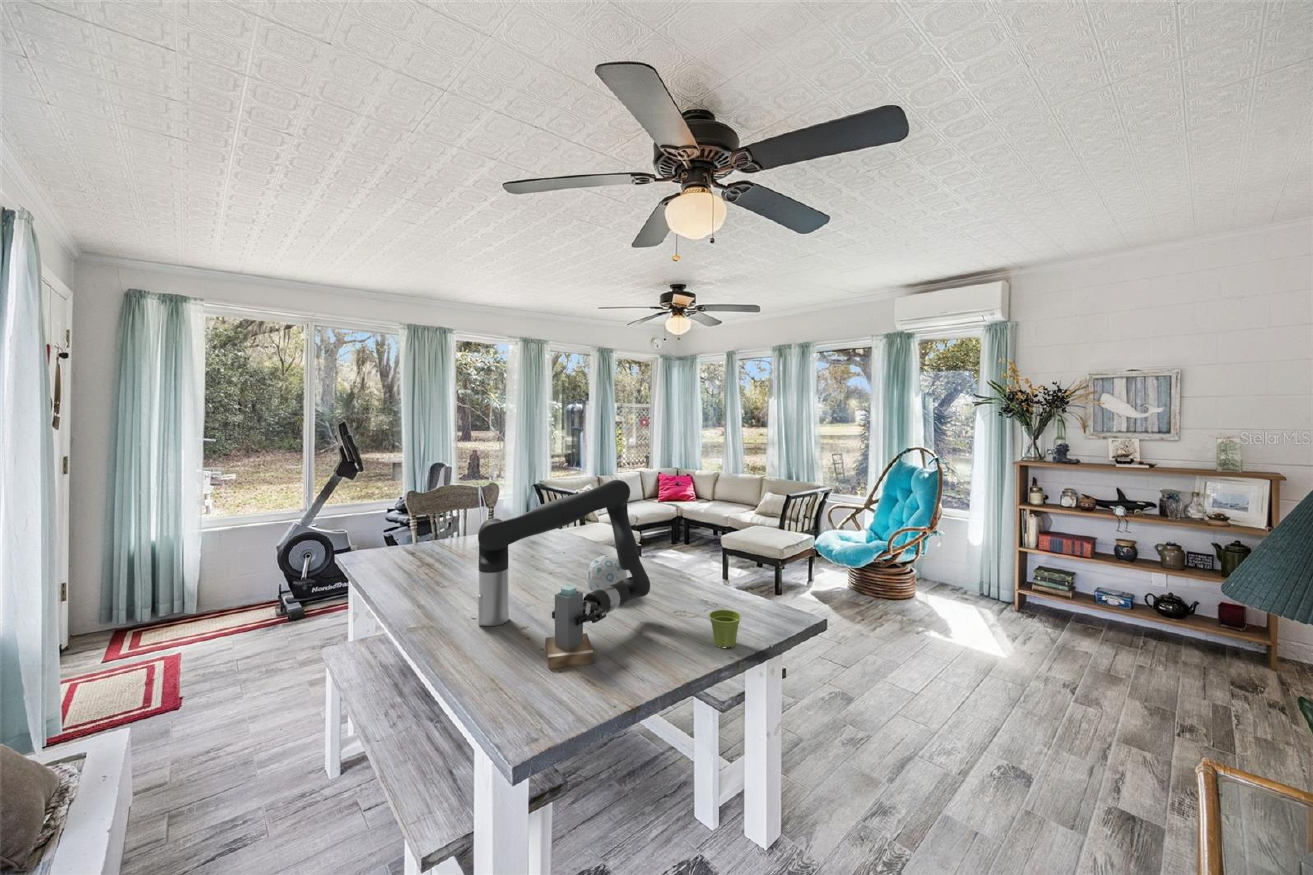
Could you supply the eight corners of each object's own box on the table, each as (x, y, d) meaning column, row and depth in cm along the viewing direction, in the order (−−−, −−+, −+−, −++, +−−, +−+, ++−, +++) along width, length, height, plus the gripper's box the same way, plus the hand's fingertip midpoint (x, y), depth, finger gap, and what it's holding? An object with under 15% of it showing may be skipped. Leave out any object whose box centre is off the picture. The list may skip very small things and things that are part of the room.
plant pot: (733, 654, 144) (733, 624, 144) (703, 646, 149) (703, 617, 149) (745, 642, 152) (746, 613, 152) (717, 635, 157) (717, 607, 157)
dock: (548, 668, 135) (548, 657, 135) (545, 647, 148) (545, 636, 148) (593, 663, 138) (593, 651, 138) (586, 643, 151) (586, 632, 151)
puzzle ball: (579, 599, 188) (579, 558, 188) (598, 586, 202) (598, 549, 202) (616, 604, 183) (616, 563, 182) (633, 591, 197) (633, 553, 196)
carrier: (569, 638, 147) (569, 588, 147) (582, 642, 144) (582, 592, 144) (554, 646, 142) (554, 594, 142) (568, 650, 139) (568, 598, 139)
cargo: (568, 596, 145) (568, 585, 145) (576, 598, 143) (576, 587, 143) (561, 599, 142) (561, 588, 142) (569, 601, 141) (568, 590, 141)
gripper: (584, 585, 158) (545, 600, 145) (620, 593, 150) (582, 610, 137) (584, 608, 159) (545, 626, 145) (620, 619, 151) (582, 638, 137)
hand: (563, 618), depth 141 cm, fingers open, 8 cm apart
